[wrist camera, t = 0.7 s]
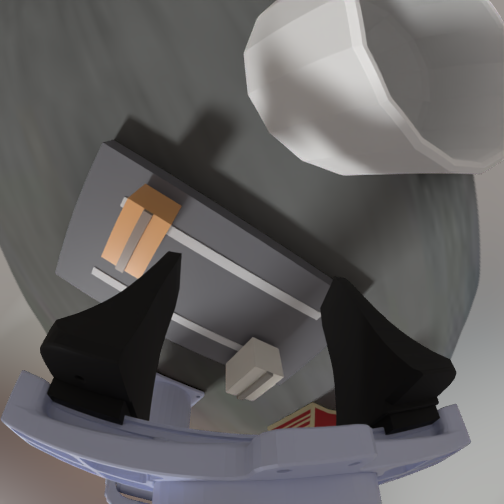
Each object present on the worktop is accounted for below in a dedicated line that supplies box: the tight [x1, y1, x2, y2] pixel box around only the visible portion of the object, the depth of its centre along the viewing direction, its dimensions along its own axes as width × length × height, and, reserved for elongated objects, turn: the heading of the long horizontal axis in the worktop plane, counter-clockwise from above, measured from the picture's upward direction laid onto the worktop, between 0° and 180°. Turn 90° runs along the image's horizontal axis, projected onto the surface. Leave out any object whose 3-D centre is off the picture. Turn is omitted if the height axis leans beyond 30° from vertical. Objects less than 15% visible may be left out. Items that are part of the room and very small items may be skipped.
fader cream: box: [226, 337, 284, 401], centre depth 24 cm, size 4×3×4 cm, turn 144°
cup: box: [244, 0, 504, 175], centre depth 11 cm, size 13×13×14 cm
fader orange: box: [101, 184, 182, 279], centre depth 17 cm, size 4×3×4 cm, turn 144°
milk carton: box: [267, 402, 336, 431], centre depth 28 cm, size 9×9×20 cm
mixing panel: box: [55, 140, 333, 386], centre depth 23 cm, size 13×26×2 cm, turn 54°
